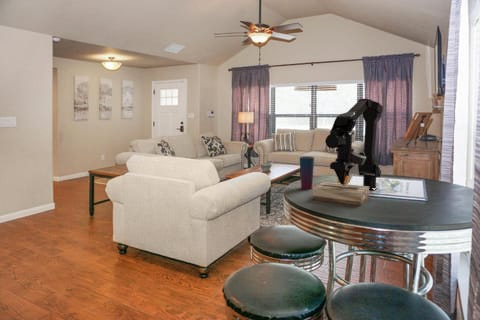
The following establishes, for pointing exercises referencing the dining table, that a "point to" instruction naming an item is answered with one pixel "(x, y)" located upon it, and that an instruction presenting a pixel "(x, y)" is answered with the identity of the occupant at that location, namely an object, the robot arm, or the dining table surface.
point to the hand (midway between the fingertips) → (343, 183)
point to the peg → (345, 180)
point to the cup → (306, 172)
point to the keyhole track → (341, 193)
